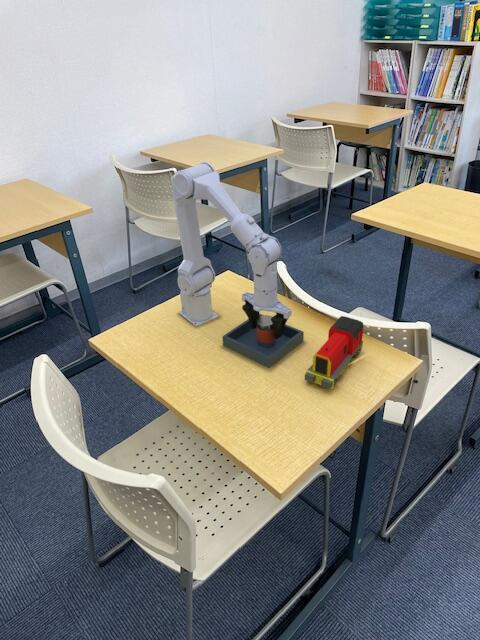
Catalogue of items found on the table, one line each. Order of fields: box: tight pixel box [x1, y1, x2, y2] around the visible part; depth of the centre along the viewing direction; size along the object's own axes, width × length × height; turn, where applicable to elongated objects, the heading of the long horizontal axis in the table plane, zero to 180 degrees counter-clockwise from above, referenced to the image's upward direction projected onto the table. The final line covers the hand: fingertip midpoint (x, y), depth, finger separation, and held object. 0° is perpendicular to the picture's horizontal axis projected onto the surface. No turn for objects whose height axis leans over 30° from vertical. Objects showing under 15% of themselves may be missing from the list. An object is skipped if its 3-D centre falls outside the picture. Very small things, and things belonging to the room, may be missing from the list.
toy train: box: [304, 315, 364, 390], centre depth 116 cm, size 7×19×10 cm, turn 146°
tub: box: [222, 312, 305, 369], centre depth 127 cm, size 16×15×4 cm
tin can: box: [257, 314, 276, 348], centre depth 126 cm, size 5×5×7 cm
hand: (266, 332), depth 126 cm, fingers open, 7 cm apart
